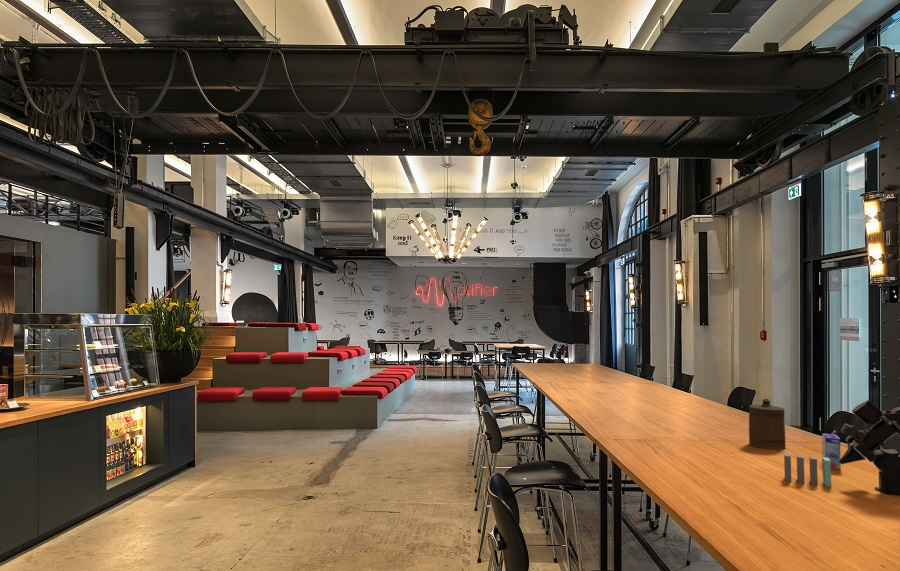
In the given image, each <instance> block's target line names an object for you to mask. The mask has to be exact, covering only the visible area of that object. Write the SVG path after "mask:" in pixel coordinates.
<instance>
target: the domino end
mask: <svg viewBox="0 0 900 571" xmlns="http://www.w3.org/2000/svg"><path fill="white" fill-rule="evenodd" d="M783 464H784V465H783V466H784V467H783V468H784V479H785V482H792V456H791V454H790V453H785V452H784V453H783Z"/></svg>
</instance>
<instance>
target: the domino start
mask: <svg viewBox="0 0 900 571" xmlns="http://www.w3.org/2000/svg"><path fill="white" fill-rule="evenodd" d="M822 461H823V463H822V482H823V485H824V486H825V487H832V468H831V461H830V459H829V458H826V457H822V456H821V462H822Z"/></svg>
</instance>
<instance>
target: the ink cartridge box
mask: <svg viewBox="0 0 900 571" xmlns="http://www.w3.org/2000/svg"><path fill="white" fill-rule="evenodd" d="M836 432H837V431H836V430H835V429H834V430H833V431H832V432H831V433H821V435H822V436H821V439H822V440H821V442H822V443H821V458H822V457H826V458H829V459H830V461H831V470H832V469H833V470H839V471H841V468H842V467H841V465H842V464H841V463H840V462H839V461H840V459H841V458H842V456H841V438H840V437H839V436H838V434H836ZM821 463H822V464H823V461H822V460H821Z"/></svg>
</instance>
